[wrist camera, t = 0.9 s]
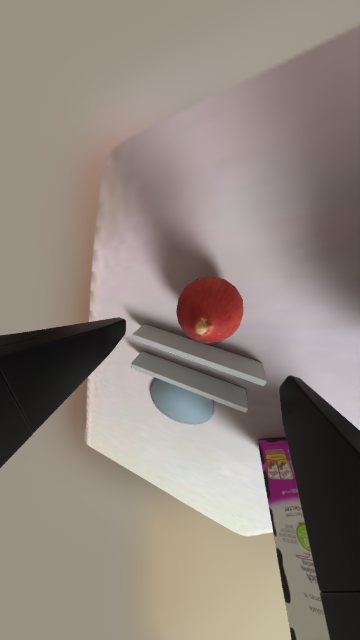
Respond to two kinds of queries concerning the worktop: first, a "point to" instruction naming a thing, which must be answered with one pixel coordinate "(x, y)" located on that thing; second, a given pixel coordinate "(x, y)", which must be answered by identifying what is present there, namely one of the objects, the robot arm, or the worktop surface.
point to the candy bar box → (292, 544)
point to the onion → (210, 309)
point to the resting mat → (181, 403)
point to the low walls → (199, 354)
